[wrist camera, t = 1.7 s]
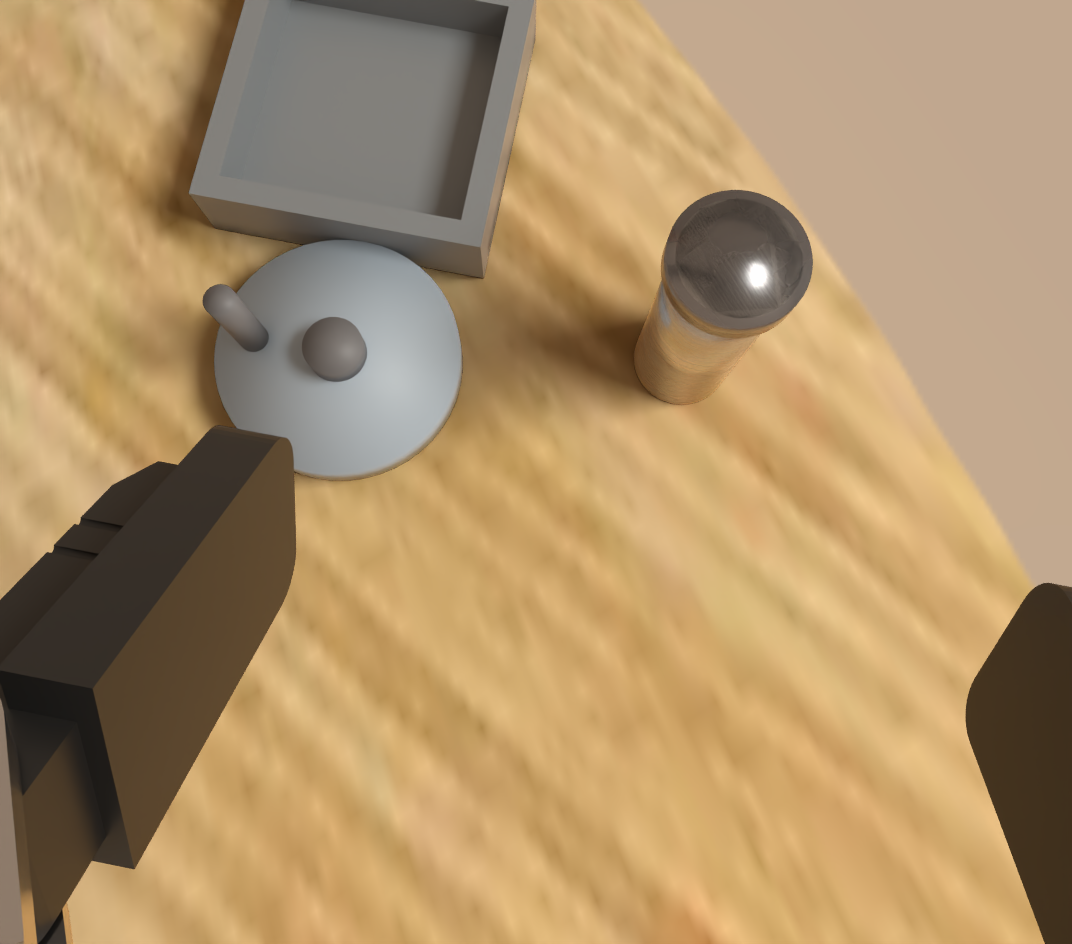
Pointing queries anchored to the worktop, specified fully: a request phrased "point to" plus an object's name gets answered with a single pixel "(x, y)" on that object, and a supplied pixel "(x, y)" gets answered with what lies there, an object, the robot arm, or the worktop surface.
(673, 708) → the worktop surface
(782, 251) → the salt shaker
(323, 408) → the pot lid
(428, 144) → the tray
